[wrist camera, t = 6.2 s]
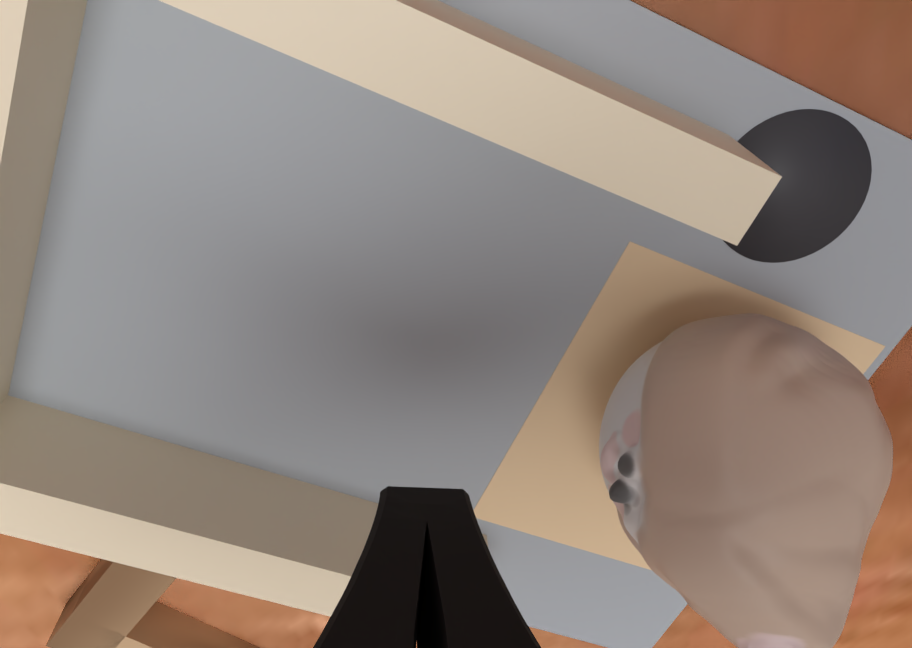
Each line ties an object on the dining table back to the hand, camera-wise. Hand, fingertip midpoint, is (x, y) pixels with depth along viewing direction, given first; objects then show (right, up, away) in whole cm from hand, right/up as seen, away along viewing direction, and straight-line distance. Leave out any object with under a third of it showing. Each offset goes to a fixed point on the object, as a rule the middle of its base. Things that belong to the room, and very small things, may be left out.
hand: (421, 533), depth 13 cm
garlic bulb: (+7, +2, +8) cm, 10 cm away
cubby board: (0, +3, +6) cm, 7 cm away
